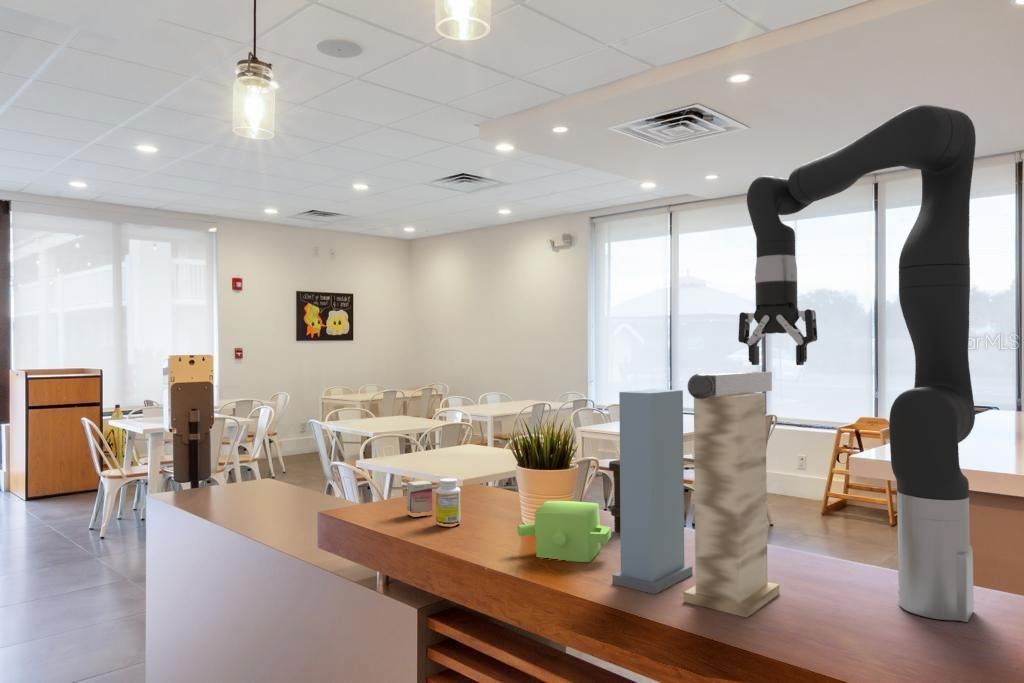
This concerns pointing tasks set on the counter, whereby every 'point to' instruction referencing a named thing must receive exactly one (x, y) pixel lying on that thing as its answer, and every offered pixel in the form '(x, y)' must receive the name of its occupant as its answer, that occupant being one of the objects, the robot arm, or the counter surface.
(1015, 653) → the counter surface
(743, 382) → the lever bar
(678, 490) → the post
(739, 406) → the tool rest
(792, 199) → the robot arm
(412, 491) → the small box
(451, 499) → the supplement bottle
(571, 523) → the gearbox
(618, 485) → the bolt
